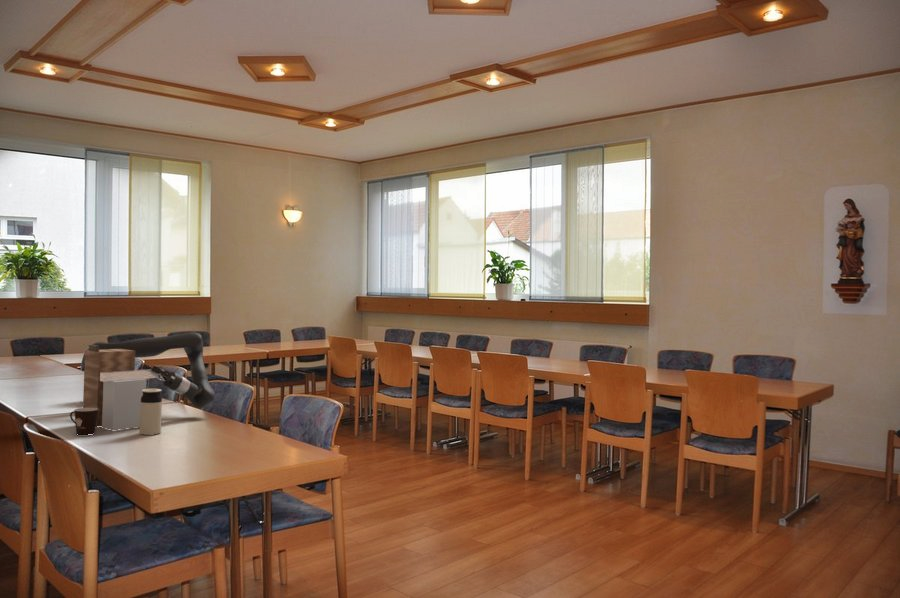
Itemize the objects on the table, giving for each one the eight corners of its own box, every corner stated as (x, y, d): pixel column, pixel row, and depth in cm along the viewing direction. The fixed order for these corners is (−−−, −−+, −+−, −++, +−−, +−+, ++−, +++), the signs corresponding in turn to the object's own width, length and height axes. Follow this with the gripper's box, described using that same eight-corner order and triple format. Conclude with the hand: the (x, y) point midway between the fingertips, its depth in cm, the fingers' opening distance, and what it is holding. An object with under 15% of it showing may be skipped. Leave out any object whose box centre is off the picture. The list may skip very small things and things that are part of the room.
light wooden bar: (104, 381, 284) (104, 373, 284) (99, 380, 286) (100, 372, 286) (158, 377, 303) (158, 369, 303) (153, 376, 305) (154, 369, 305)
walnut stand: (96, 427, 290) (99, 346, 290) (82, 423, 297) (85, 344, 297) (132, 423, 303) (135, 345, 303) (118, 419, 310) (121, 343, 310)
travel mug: (152, 436, 278) (154, 391, 278) (135, 434, 280) (136, 390, 280) (164, 432, 286) (166, 389, 286) (147, 431, 287) (149, 388, 287)
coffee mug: (100, 434, 277) (101, 409, 277) (77, 437, 271) (78, 411, 271) (90, 430, 285) (90, 406, 285) (67, 432, 279) (68, 408, 279)
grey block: (112, 431, 284) (114, 381, 284) (101, 428, 290) (103, 379, 290) (144, 426, 296) (146, 379, 296) (133, 424, 301) (135, 377, 301)
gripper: (172, 374, 318) (143, 357, 307) (190, 377, 310) (161, 360, 298) (164, 389, 315) (134, 373, 304) (182, 392, 307) (152, 376, 295)
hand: (148, 366), depth 301 cm, fingers open, 7 cm apart
